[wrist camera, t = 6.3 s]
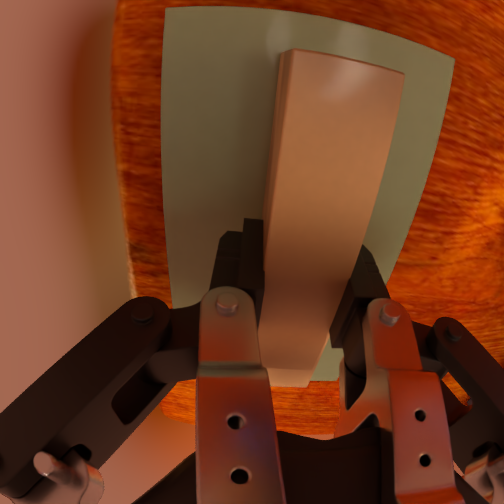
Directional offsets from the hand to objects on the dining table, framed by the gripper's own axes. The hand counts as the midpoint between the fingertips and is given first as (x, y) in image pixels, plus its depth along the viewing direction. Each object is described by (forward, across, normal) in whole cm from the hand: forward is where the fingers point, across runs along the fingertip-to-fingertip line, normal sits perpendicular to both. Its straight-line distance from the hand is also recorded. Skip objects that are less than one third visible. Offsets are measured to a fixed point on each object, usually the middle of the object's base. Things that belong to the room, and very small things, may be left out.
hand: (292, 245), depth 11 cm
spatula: (+1, 0, +2) cm, 2 cm away
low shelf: (+4, 0, +2) cm, 4 cm away
